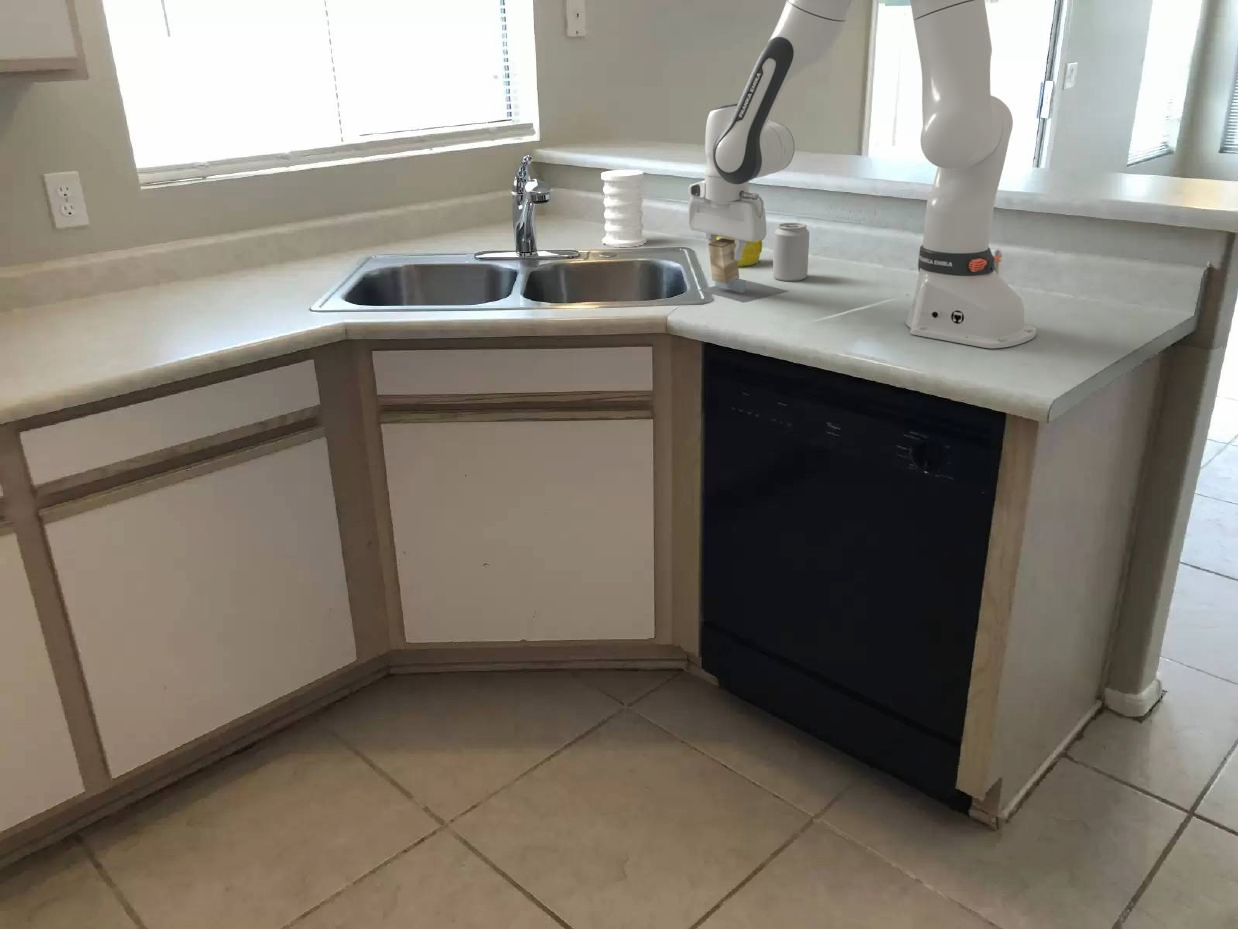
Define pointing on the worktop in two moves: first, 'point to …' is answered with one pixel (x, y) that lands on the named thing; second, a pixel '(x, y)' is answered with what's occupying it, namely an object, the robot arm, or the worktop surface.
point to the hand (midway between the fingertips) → (726, 257)
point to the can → (791, 252)
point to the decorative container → (623, 207)
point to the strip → (733, 285)
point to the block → (723, 261)
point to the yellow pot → (748, 252)
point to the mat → (751, 292)
